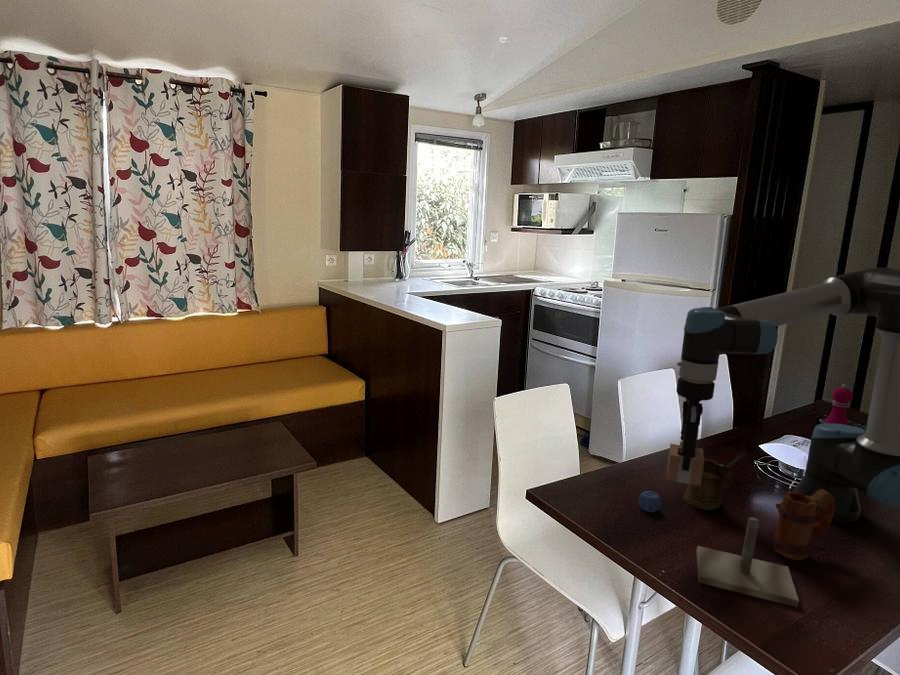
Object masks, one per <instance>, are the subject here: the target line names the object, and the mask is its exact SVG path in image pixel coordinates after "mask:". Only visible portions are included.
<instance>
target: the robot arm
mask: <svg viewBox="0 0 900 675" xmlns="http://www.w3.org/2000/svg"><path fill="white" fill-rule="evenodd" d="M686 314H687V315H686V318H685V324H684V327H683V338H682V339H683V341H682V348H681V357H680V361H677V362H676V365H677V366H678V367H679V373H678V374H679V377H678V378H677V386H676V389H675V390H676V393H677V395H678V396H680V397H682V398H684V399H685V400H683V402H682V416H681V417H682V425H681V431H680V437H679V438H680V440H679V445H682V451H681V453H680V452H678V455H680V461H679V468H678V475H677V481H676V482H677V483H681V484H687V485H688V484H690V480H691V473H692V466H693V459H694V457H695V448H697V447H696V446H697V438H698V431H699V426H700V424H701V418H702V417H701V416H702V415H703V410H704V406H703V403H700V402H701V401H710V400H712V399H713V398H714V392H715V387H716V383H715V381H716V379H717V374H718V370H719V369H718V368H719V361H720V360H719V359H720V355H721V354H730V355H731V354H732V355H733V354H736V355H737V354H738V355H753V356H755V355H764V354H765V355H766V354H769V353H771V352H772V351H773V350H774V349H775V348H776V345H777V343H778V338H779V334H778V330H777V327H779V326H784V325H787V324H792V323H797V322H800V321H801V322H802V321H804V320H809V319H814V318H818V317H821V316H822V317H823V316H826V315H827V316H828V315H832V316H835V317H836V316H837V317H840V316H845V315H849V314H850V315H851V314H852V315H865V316H870V317H875V318H876V321H875V322H876V323H875V330H876V331H877V332H878V333H879V335H880V336H881V343H880V348H879V354H878V359H877V364H876V372H875V377H874V382H873V389H872V395H871V400H870V405H869V412H868V418H867V424H866V429H864V428H862V427H859V426H858V427H857V426H853V425H849V424H848V425H843V424H834V423H825V422H824V423H820V424H817V425H816V426H815V427H813V428H814V429H813V432H812V435H811V437H810V443H809V449H808V453H807V455H808V456H807V459H806V460H807V462H806V467H805V471H804V475H803V477H802V478H801V479H800V480H799V482H798V484H797V485H796V487H795V488H794V490H793V492H792V493H794V492H799V493H803V495H805V496H806V495H808V496H812V495H813V494H815V493H816V492H817V491H818V490H820V489H823V490H825V491H827V492H829V493H830V494H832V496H833V498H834V501H835V512H834V515H833V518H832V521H833V522H839V523H850V522H852V523H853V522H856V521H857V520H859V518H860V514H861V504H860V499H859V493H858V491H860V492H862V493H863V494H865V495H867V496H868V497H869V498H870V499H872V500H875V501H878V502H880V503H881V504H883V505H885V506H890V507H899V506H900V269H898V268H890V267H875V268H874V267H873V268H866V269H863V270H857V271H853V272H848V273H844V274H839V275H835V276H830V277H828V278H826V279H825V280H823V282H821V283H820V284H815V285H811V286H807V287H803V288H798V289H796V290H789V291H786V292H782V293H778V294H773V295H769V296H764V297H760V298H756V299H751V300H748V301H743V302H739V303H736V304H729V305H726V306H720V307H717V308H714V307H711V306H701V307H698V308H697V307H696V308H695V307H694V308H691V309H690V310H689V311H688V312H687V313H686ZM818 509H819V507H816V511H817V512H818Z"/></svg>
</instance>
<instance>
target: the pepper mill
mask: <svg viewBox="0 0 900 675" xmlns="http://www.w3.org/2000/svg"><path fill="white" fill-rule="evenodd" d="M831 396H832V398H833V399H832V410H831V412H830V414H829V415H828V416H827V417H826V419H825V421H824V423H834V424H843V425H849V421H848V418H847V409H848V408H849V407H850V402H851V401H852V400H853V397H854V395H853V392H852V391H851V390H850V389H848V385H847V384H846V383H842V384H841V387H837V388H835V389H834V390H833V391H832V394H831Z"/></svg>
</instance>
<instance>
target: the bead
mask: <svg viewBox="0 0 900 675" xmlns="http://www.w3.org/2000/svg"><path fill="white" fill-rule="evenodd" d="M681 451H682V445H680V444H676V443H670V444H669V452H668V458H667V459H668V460H667V468H666V480H667V481H672V482H677V475H678V468H679V461H680V455H678V452H680V453H681ZM704 459H705V457H704V449H703V448H699V447H696V448H695V457H694V459H693V466H692V473H691V480H690V484H693V485H698V486H701V480H702V473H703V466H704Z"/></svg>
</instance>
